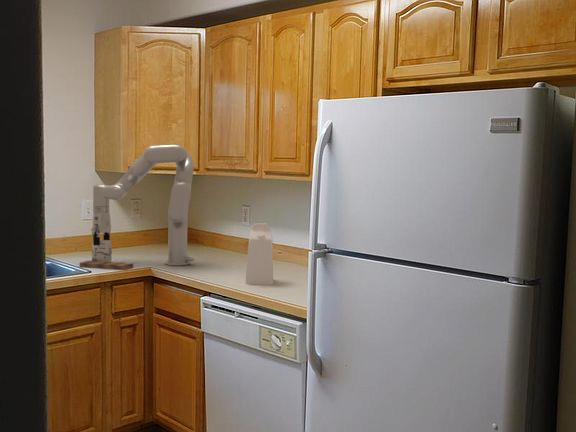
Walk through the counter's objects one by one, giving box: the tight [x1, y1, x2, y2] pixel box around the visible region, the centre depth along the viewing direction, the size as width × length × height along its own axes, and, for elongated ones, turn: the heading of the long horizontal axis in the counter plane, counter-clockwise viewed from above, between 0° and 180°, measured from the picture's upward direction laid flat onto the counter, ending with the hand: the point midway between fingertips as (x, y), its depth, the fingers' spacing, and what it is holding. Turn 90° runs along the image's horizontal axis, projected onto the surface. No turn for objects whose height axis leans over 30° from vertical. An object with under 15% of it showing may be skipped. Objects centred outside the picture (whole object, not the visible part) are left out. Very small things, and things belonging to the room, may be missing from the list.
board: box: [79, 259, 134, 271], centre depth 293 cm, size 24×8×2 cm, turn 78°
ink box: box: [91, 239, 113, 262], centre depth 301 cm, size 9×5×12 cm, turn 74°
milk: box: [245, 222, 274, 286], centre depth 267 cm, size 12×12×26 cm
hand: (101, 243), depth 301 cm, fingers open, 9 cm apart
